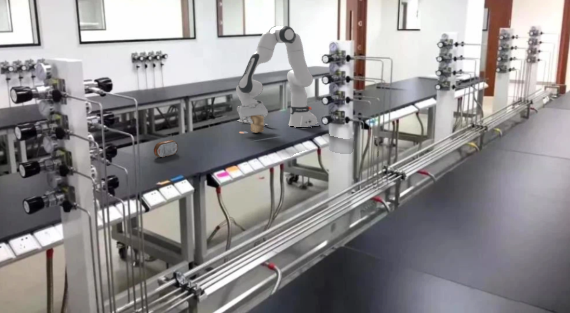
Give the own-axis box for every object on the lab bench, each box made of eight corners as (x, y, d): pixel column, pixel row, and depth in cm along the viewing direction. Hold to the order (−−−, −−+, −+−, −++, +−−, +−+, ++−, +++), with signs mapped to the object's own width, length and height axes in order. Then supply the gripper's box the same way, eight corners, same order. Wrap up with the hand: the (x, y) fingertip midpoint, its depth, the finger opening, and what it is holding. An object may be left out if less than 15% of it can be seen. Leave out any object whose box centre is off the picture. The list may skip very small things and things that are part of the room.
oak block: (258, 129, 339) (258, 114, 336) (263, 131, 334) (263, 116, 331) (250, 130, 335) (250, 115, 333) (255, 132, 331) (255, 117, 328)
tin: (175, 152, 289) (175, 138, 287) (179, 153, 287) (178, 139, 285) (153, 158, 278) (152, 143, 276) (157, 159, 276) (156, 144, 274)
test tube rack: (268, 125, 362) (268, 106, 359) (264, 126, 359) (264, 107, 355) (240, 120, 376) (240, 102, 373) (236, 121, 373) (236, 103, 369)
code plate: (260, 130, 345) (260, 129, 345) (267, 135, 333) (267, 133, 333) (230, 132, 338) (230, 131, 337) (236, 137, 325) (236, 136, 325)
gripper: (237, 103, 329) (245, 121, 324) (264, 101, 341) (272, 118, 336) (234, 109, 334) (242, 127, 329) (260, 106, 346) (268, 123, 341)
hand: (257, 122), depth 333 cm, fingers closed on oak block, 6 cm apart
